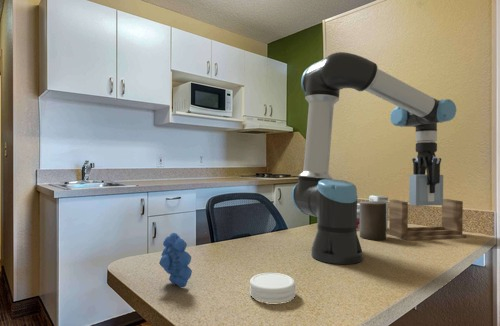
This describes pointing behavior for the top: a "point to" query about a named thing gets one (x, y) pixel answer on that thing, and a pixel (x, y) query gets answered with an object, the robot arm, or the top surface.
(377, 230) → the pillar candle
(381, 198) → the syrup box
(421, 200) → the door panel
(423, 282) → the top surface
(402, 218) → the frame
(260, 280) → the white round jar
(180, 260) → the grapes
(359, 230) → the pill bottle
